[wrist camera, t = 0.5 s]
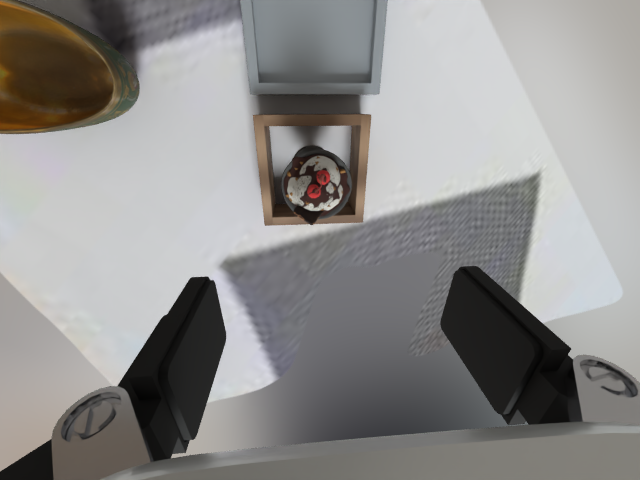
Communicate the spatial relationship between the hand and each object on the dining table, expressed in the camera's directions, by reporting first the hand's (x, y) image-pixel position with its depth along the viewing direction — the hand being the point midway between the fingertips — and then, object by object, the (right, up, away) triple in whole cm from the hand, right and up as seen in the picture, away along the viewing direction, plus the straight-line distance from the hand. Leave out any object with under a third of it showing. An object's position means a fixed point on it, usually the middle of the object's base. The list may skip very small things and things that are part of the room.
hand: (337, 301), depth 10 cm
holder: (-2, +12, +23) cm, 26 cm away
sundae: (-2, +12, +23) cm, 26 cm away
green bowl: (-29, +20, +17) cm, 39 cm away
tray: (-1, +25, +16) cm, 30 cm away
